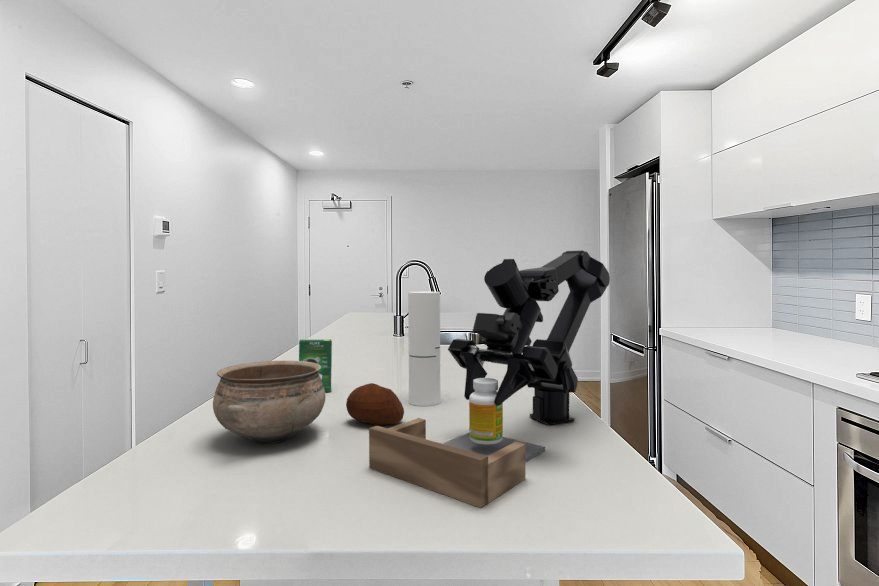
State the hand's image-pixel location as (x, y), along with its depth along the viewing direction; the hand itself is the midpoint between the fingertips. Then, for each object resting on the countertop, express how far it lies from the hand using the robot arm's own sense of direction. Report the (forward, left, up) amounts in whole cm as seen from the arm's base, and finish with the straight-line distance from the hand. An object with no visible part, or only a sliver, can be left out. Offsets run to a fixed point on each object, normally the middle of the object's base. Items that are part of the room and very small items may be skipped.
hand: (480, 401), depth 78 cm
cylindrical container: (-4, -34, -9) cm, 36 cm away
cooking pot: (+30, -23, -9) cm, 39 cm away
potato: (+11, -23, -9) cm, 27 cm away
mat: (-2, -1, -9) cm, 9 cm away
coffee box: (+17, -54, -9) cm, 58 cm away
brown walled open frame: (+8, +4, -9) cm, 12 cm away
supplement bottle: (-1, -1, -7) cm, 7 cm away
